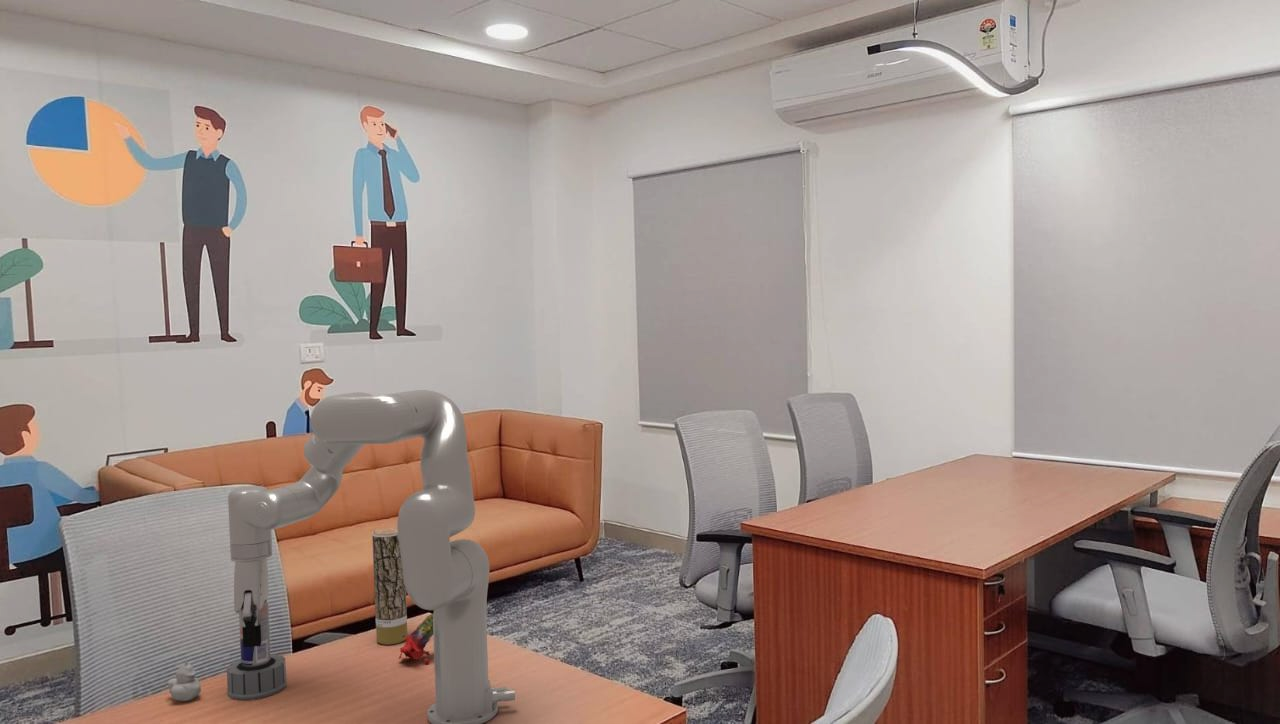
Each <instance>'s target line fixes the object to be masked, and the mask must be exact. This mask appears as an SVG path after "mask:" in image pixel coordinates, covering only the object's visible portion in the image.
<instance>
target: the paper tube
mask: <svg viewBox="0 0 1280 724" xmlns="http://www.w3.org/2000/svg"><path fill="white" fill-rule="evenodd" d="M371 534H372V535H371V536H372V538H371V539H372V563H373V565H372V566H373V587H374V607H375V608H374V611H375V613H374V614H375V631H376V632H375V633H376V635H375V636H376V642H377V643H378V644H381V645H385V646H387V645H388V646H390V645H397V644H400V643H402V642H405V641H406V640H407V636H408V616H407V615H408V614H407V613H408V612H407V609H408V608H407V590H406V587H405V582H404V577H403V569H402V562H401V554H400V546H399V538H398V529H397V527H387V528H380V529H376V530H373V531H372V533H371ZM403 635H404V636H405V637H402V636H403Z"/></svg>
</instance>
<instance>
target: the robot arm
mask: <svg viewBox="0 0 1280 724" xmlns="http://www.w3.org/2000/svg"><path fill="white" fill-rule="evenodd" d="M310 428H311V432H313V434H312V435H311V436H310V437H309V438H308V440H307V441H306V442H305V444H304V445H303V451H302V452H303V456H304V458H305V460H306V461H307V463H308V464H309V465H310V466H311V467H310V468H309V469H308V470H307V472H305V474H304V475H303V476H302V477H301V479H299V480H298V481H297V482H296V483H295V482H294V483H291V484H286V485H283V486H280V487H276V488H272V489H268V488H267V487H265V486H263V485H247V486H241V487H236V488H234V489H231V491H230V492H229V493H228V497H227V500H228V501H227V505H228V507H227V508H228V524H229V525H228V527H229V529H228V530H229V545H230V546H229V549H230V551H229V553H230V560H231V562H234V569H233V570H234V573H233V611H234V613H236V614H239V611H240V610H241V609H242V607H243V627H242V630H243V646H244V647H253V646H260V645H261V625H259V610H260V609H261V608H262V607H263V605H264V603H265V601H266V600H267V601H268V598H269V569H268V558H271V557H272V556H273V544H272V543H273V540H272V539H273V538H272V530H277V529H281V528H283V527H287V526H290V525H292V524H295V523H299V522H301V521H304V520H308V519H310V518H312V517H314V516H315V515H316V514H318V512H320V511H321V510H322V509H323V508H324V507H325V506H326V504H327V503H328V502H329V501H330V500H331V499H332V498H333V496H334V495H335V494H336V493H337V491H338V489H339V487H340V486H341V482H342V479H343V473H344V472H343V471H344V469H345V468H346V467H347V465H349V464H350V462H351V461H352V460H353V458H354V457H355V456H357V454H358V453H359V451H361V449H362V448H363V447H364V446H365V445H383V444H384V445H386V444H387V445H388V444H393V443H398V442H402V441H407V440H411V439H413V438H417V437H419V438H421V439H423V445H422V449H421V454H420V469H421V470H420V471H421V478H422V479H421V480H422V489H420V490H418V491H416V492H413V494H410V495H409V496H408V497H407V498H405V500H404V501H403V503H402V504H401V507H400V508H399V511H398V516H397V522H396V523H397V527H396V528H397V529H398V538H399V546H400V554H401V562H402V569H403V577H404V582H405V587H406V593H407V595H408V597H409V598H410V599H411V602H413V604H414V605H416V606H417V607H418V608H420V609H423V610H425V611H426V610H427V611H433V613H432V614H433V635H432V636H433V661H434V663H433V664H434V666H433V667H434V686H435V687H434V688H435V689H434V690H435V693H434V694H435V702H434V703H432V704H431V705H430V707H428V708H427V719H428V722H429V723H431V724H484V723H487V722H488V721H490V720H492V719H493V718H494V717H495V716H496V715H497V713H498V711H499V703H500V702H511V701H512V702H513V701H515V699H516V694H515V689H513V688H512V689H507V688H508V687H507V686H506V685H505V686H499V687H494V686H491V681H490V679H489V657H488V656H489V655H488V623H487V621H488V620H487V605H488V604H487V602H488V601H487V599H488V598H487V597H488V589H489V581H490V580H489V579H490V562H489V557H488V555H487V554H488V553H486V550H485V549H484V548H483V546H481V545H480V544H479V543H478V542H476V541H474V540H470V539H464V538H463V539H462V538H461V539H455V540H452V541H451V539H450V538H451V537H454V536H456V535H458V534H460V533H462V532H464V531H465V530H466V529H468V528H469V527H470V526H471V525H472V523H474V522H473V521H474V520H475V514H476V507H475V498H474V491H473V485H472V484H473V483H472V475H471V467H470V462H469V455H468V447H467V445H468V443H467V429H466V424H465V420H464V417H463V414H462V412H461V410H460V408H459V407H458V405H456V403H455V402H454V401H453V400H452V399H451V398H450V397H449V396H446V395H444V394H442V393H440V392H437V391H434V390H429V389H428V390H426V389H420V390H419V389H417V390H407V391H404V392H396V393H391V394H390V393H389V394H383V395H372V394H369V393H367V392H359V391H357V392H349V393H342V394H334V395H329V396H327V397H325V398H322V399H321V400H320V401H318V403H317V404H316V405H315V406H314V408H313V410H312V413H311V414H310ZM252 607H256V609H255V610H251V608H252ZM252 613H255V617H254V615H252Z"/></svg>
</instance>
